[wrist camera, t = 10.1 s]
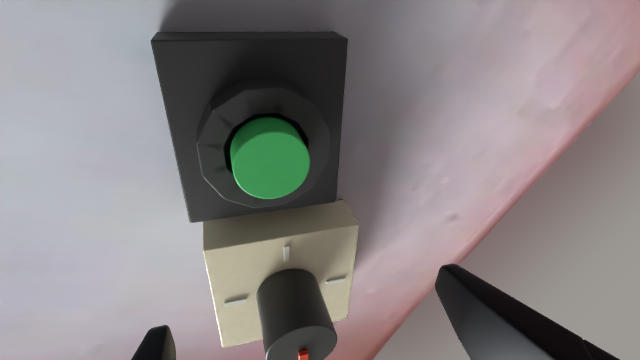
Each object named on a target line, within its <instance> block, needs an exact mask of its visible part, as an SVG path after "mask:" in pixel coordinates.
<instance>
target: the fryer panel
mask: <svg viewBox="0 0 640 360" xmlns="http://www.w3.org/2000/svg"><path fill="white" fill-rule="evenodd" d="M358 231H359V223H358V222H357V220H356V218H355V217H354V215H353V213H352V212H351V210H350V208H349V207H348V205H347V204H346V202H345V200H339V201H336V202H333V203H326V204H319V205H312V206H305V207H298V208H291V209H284V210H277V211H271V212H264V213H257V214H250V215H243V216H236V217H229V218H222V219H215V220H208V221H203V253H204V258H205V263H206V268H207V273H208V278H209V283H210V288H211V293H212V298H213V303H214V308H215V313H216V318H217V323H218V328H219V333H220V338H221V343H222V347H223V348H227V347H231V346H235V345H239V344H243V343H247V342H252V341H256V340H260V339H263V337H262V331H261V325H260V319H259V312H258V306H257V300H256V294H257V291H258V288H259V287H260V285H261V284H262V283H263V282H264V280H266V279H267V278H268V277H270V276H271V275H273V274H275V273H277V272H279V271H282V270H286V269H303V270H306V271H309V272H310V273H312V274H313V275H314V276H315V277H316V279H317V282H318V285H319V287H320V290H321V293H322V296H323V298H324V301H325V304H326V307H327V309H328V312H329V315H330V318H331V320H332V322H334V321H338V320H342V319H346V318H347V317H348V309H349V302H350V294H351V286H352V278H353V270H354V262H355V254H356V247H357V239H358Z"/></svg>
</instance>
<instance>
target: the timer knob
mask: <svg viewBox="0 0 640 360" xmlns="http://www.w3.org/2000/svg"><path fill="white" fill-rule="evenodd" d="M256 300H257V306H258V312H259V319H260V325H261V331H262V337H263V344H264V350H265V356H266V360H323V359H325V358H326V357H327V356H328V355H329V354H330V353H331V352H332V351H333V349H334V348H335V346H336V343H337V334H336V332H335V329H334V326H333V323H332V320H331V318H330V315H329V312H328V309H327V307H326V304H325V301H324V298H323V296H322V293H321V290H320V287H319V285H318V282H317V279H316V277H315V276H314V275H313V274H312V273H310V272H309V271H306V270H303V269H286V270H282V271H279V272H277V273H275V274H273V275H271V276H270V277H268V278H267V279H266V280H264V282H263V283H262V284H261V285H260V287H259V288H258V291H257V294H256Z"/></svg>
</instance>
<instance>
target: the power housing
mask: <svg viewBox="0 0 640 360" xmlns="http://www.w3.org/2000/svg"><path fill="white" fill-rule="evenodd" d="M151 45H152V49H153V54H154V59H155V63H156V68H157V72H158V77H159V82H160V86H161V91H162V96H163V100H164V105H165V109H166V114H167V119H168V123H169V128H170V132H171V137H172V142H173V146H174V151H175V156H176V160H177V165H178V169H179V174H180V179H181V183H182V188H183V193H184V197H185V202H186V206H187V211H188V216H189V220H190V223H194V222H201V221H208V220H215V219H222V218H229V217H236V216H243V215H250V214H257V213H264V212H271V211H277V210H284V209H291V208H298V207H305V206H312V205H319V204H326V203H333V202H336V191H337V178H338V165H339V151H340V138H341V125H342V112H343V99H344V86H345V72H346V59H347V46H348V38H346V37H344V36H342V35H340V34H338V33H336V32H157V33H156V34H155V36H154V37H153V38H152V40H151ZM262 117H274V118H279V119H282V120H284V121H286V122H288V123H289V124H291V125H292V126H293V127H294V128H295V129H296V131H297V132H298V134H299V135H300V137H301V139H302V141H303V142H304V144H305V146H306V148H307V149H308V152H309V156H310V167H309V171H308V174H307V176H306V178H305V180H304V181H303V183H302V184H301V185H300V186H299V187H298V188H297V189H296V190H294V191H293V192H291V193H289V194H287V195H285V196H282V197H279V198H274V199H263V198H258V197H255V196H252V195H250V194H248V193H247V192H245V191H244V190H243V189H242V188H241V187H240V186H239V185H238V184H237V182H236V180H235V178H234V175H233V170H232V163H231V156H230V147H231V143H232V140H233V138H234V136H235V134H236V133H237V131H238V130H239V129H240V128H241V127H242V126H244V125H245V124H246V123H248V122H250V121H252V120H254V119H258V118H262Z"/></svg>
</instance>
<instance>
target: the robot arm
mask: <svg viewBox="0 0 640 360" xmlns="http://www.w3.org/2000/svg"><path fill="white" fill-rule="evenodd" d="M435 289H436V292H437V294H438V296H439V298H440V300H441V303H442V304H443V307H444V309H445V311H446V313H447V315H448V317H449V319H450V322H451V324H452V326H453V328H454V330H455V332H456V334H457V336H458V338H459V340H460V342H461V343H462V345H463V347H464V348H465V350H466V352H467V354H468V355H469V357H470V359H471V360H620V359H618V358H616V357H614V356H613V355H611V354H609V353H607V352H605V351H604V350H602V349H600V348H598V347H597V346H595V345H593V344H592V343H590V342H588V341H586V340H583V339H582V338H581V337H579V336H578V335H576V334H574V333H573V332H571V331H569V330H568V329H565V328H564V327H562V326H561V325H559V324H557V323H556V322H554V321H552V320H550V319H549V318H547V317H545V316H543V315H542V314H540V313H538V312H537V311H535V310H533V309H531V308H530V307H528V306H526V305H525V304H523V303H521V302H520V301H518V300H516V299H515V298H513V297H511V296H509V295H508V294H506V293H504V292H502V291H501V290H499V289H497V288H496V287H494V286H492V285H491V284H489V283H487V282H485V281H484V280H482V279H480V278H479V277H477V276H475V275H473V274H472V273H470V272H468V271H467V270H465V269H463V268H461V267H460V266H458V265H456V264H448V265H443V266H442V267H441V268H440V270H439V273H438V276H437V279H436V282H435ZM131 360H176V350H175V343H174V340H173V337H172V334H171V331H170V328H169V327H168V326H167V325H164V326H159V327H154V328H151V329H150V330H149V331H148V332H147V334H146V336H145V337H144V339H143V341H142V342H141V344H140V346H139V347H138V349H137V351H136V352H135V354H134V356H133V358H132V359H131Z"/></svg>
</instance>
